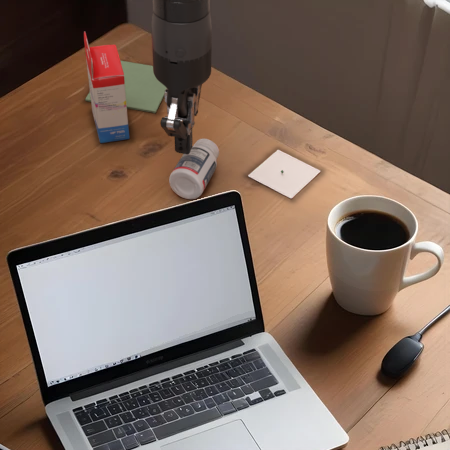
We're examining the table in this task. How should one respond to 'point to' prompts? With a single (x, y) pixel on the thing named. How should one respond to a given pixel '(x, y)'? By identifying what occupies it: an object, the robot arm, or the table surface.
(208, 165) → the pill bottle
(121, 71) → the ink box
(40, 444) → the table surface
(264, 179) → the coaster
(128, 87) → the felt mat
